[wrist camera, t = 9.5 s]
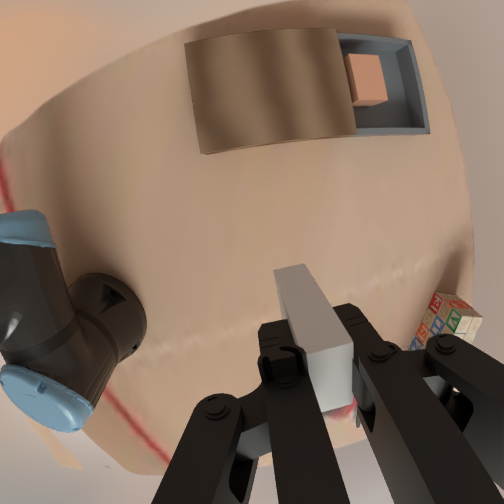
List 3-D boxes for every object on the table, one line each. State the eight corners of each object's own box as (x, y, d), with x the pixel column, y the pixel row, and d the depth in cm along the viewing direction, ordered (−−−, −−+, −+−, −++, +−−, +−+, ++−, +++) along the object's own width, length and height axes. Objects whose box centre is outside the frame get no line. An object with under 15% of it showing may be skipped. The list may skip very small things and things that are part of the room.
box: (342, 137, 36) (354, 135, 32) (324, 44, 32) (333, 33, 27) (413, 135, 36) (430, 133, 31) (396, 49, 31) (410, 40, 27)
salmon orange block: (358, 99, 28) (388, 100, 28) (348, 53, 27) (378, 55, 27) (342, 107, 34) (369, 107, 34) (334, 67, 32) (361, 67, 32)
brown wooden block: (207, 154, 37) (200, 153, 31) (192, 59, 32) (184, 43, 27) (341, 137, 36) (357, 134, 30) (323, 44, 32) (335, 28, 26)
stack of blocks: (433, 290, 44) (473, 324, 32) (455, 294, 44) (494, 325, 32) (389, 384, 50) (411, 426, 38) (411, 383, 50) (435, 422, 39)
